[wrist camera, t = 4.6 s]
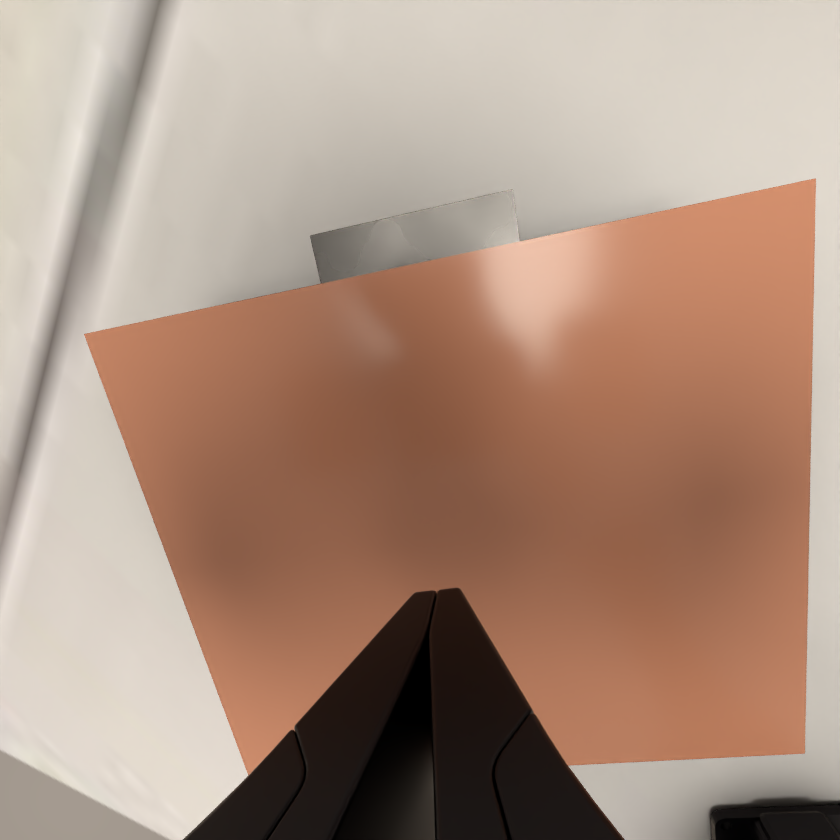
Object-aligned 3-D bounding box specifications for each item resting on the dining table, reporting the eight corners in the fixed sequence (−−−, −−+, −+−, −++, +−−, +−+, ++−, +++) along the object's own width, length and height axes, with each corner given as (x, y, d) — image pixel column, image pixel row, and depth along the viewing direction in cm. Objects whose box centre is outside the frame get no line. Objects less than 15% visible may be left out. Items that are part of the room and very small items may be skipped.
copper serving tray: (779, 718, 15) (804, 753, 14) (264, 749, 18) (250, 781, 17) (779, 190, 11) (815, 178, 10) (116, 330, 14) (84, 334, 13)
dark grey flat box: (702, 614, 20) (777, 715, 15) (309, 651, 23) (265, 746, 18) (677, 174, 16) (768, 121, 11) (201, 281, 19) (107, 275, 14)
